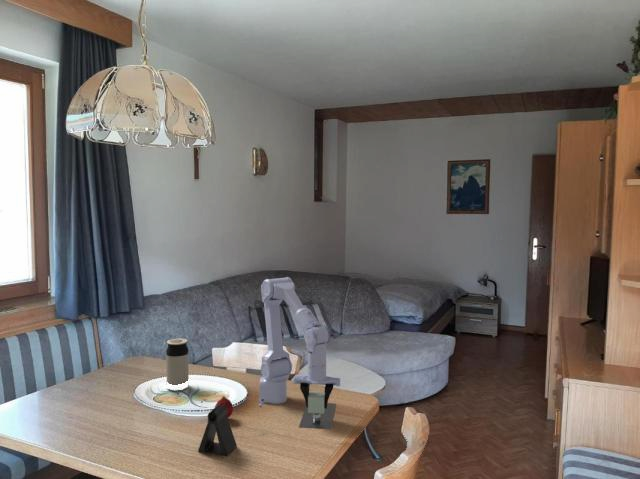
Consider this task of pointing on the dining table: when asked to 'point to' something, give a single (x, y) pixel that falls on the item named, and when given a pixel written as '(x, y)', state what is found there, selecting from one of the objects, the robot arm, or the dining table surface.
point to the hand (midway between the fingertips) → (316, 406)
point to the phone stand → (218, 433)
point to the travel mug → (177, 361)
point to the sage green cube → (316, 402)
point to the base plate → (324, 418)
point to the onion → (227, 404)
